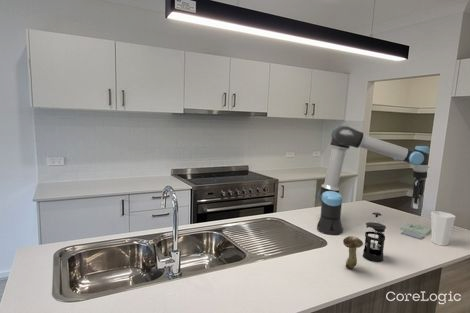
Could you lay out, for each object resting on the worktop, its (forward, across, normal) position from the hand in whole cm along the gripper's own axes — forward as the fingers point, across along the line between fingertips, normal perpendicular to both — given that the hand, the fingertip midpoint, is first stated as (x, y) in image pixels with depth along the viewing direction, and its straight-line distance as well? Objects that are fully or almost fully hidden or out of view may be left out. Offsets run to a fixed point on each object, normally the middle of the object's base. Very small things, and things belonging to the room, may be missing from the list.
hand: (416, 207), depth 182 cm
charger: (0, 0, 0) cm, 0 cm away
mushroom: (+14, -80, +4) cm, 81 cm away
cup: (+15, -12, -16) cm, 25 cm away
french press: (+14, -60, +1) cm, 62 cm away
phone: (+15, -12, -2) cm, 19 cm away
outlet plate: (+15, +1, 0) cm, 15 cm away
